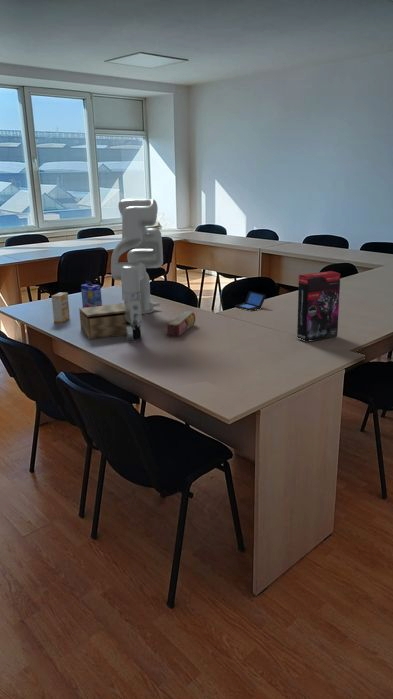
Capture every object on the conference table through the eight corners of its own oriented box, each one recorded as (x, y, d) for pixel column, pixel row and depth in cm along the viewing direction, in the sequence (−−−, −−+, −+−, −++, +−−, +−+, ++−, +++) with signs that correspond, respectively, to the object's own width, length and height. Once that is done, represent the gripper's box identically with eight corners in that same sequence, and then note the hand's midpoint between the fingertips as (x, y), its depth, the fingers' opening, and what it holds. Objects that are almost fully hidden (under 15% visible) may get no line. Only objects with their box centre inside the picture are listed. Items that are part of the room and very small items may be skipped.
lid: (126, 304, 242) (126, 303, 242) (137, 311, 227) (137, 309, 227) (79, 310, 234) (79, 308, 234) (87, 316, 219) (87, 314, 219)
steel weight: (138, 336, 225) (137, 323, 223) (142, 340, 220) (142, 326, 218) (124, 338, 223) (124, 325, 221) (128, 342, 217) (128, 328, 215)
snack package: (180, 338, 222) (179, 323, 220) (165, 337, 224) (165, 322, 222) (195, 325, 241) (195, 311, 239) (182, 324, 243) (182, 310, 241)
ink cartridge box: (81, 307, 276) (79, 280, 272) (89, 305, 281) (87, 278, 276) (95, 310, 271) (92, 282, 266) (102, 308, 275) (100, 280, 270)
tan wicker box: (127, 323, 245) (126, 305, 242) (138, 332, 230) (137, 313, 228) (81, 329, 237) (79, 310, 234) (89, 339, 222) (87, 319, 219)
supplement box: (63, 323, 248) (60, 295, 244) (53, 322, 249) (50, 295, 244) (70, 318, 255) (68, 292, 251) (61, 318, 256) (58, 291, 252)
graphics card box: (305, 343, 213) (309, 276, 204) (294, 339, 219) (298, 274, 210) (337, 337, 220) (342, 272, 212) (326, 333, 226) (330, 270, 218)
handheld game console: (234, 307, 273) (234, 293, 271) (249, 304, 280) (249, 290, 277) (251, 312, 264) (251, 297, 262) (266, 308, 270) (266, 294, 268)
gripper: (146, 298, 209) (148, 339, 214) (133, 291, 224) (135, 329, 229) (128, 300, 206) (130, 342, 211) (116, 292, 221) (119, 331, 227)
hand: (133, 335), depth 220 cm, fingers open, 9 cm apart
